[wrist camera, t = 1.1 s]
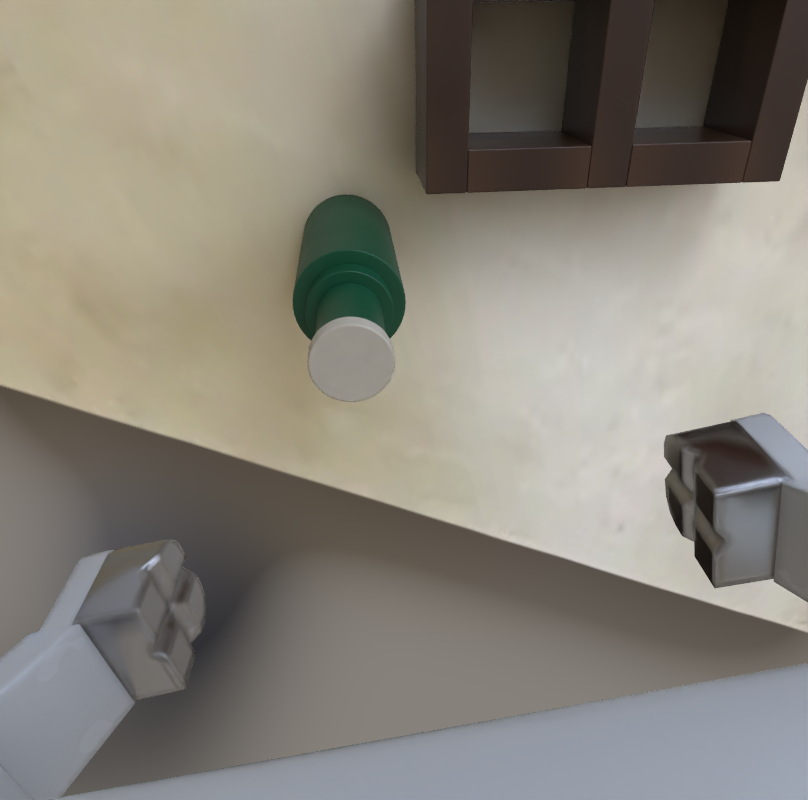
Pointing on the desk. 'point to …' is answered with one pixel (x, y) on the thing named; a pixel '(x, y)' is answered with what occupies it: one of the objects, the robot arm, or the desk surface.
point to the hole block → (613, 104)
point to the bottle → (349, 298)
